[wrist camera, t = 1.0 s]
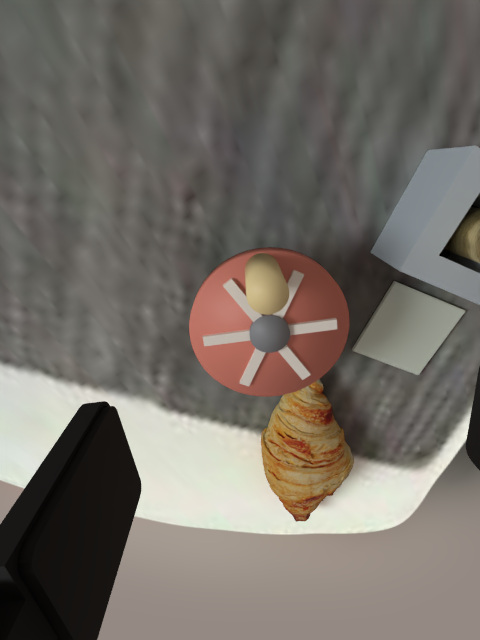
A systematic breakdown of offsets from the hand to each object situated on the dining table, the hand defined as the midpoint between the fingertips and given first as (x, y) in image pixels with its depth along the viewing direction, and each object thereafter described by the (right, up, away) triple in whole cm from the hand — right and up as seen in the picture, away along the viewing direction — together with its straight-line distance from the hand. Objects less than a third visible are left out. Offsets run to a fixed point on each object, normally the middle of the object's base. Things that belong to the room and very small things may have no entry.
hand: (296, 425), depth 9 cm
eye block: (+16, +11, +21) cm, 29 cm away
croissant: (+6, -11, +32) cm, 34 cm away
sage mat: (+15, +2, +25) cm, 29 cm away
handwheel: (+1, +3, +18) cm, 18 cm away
